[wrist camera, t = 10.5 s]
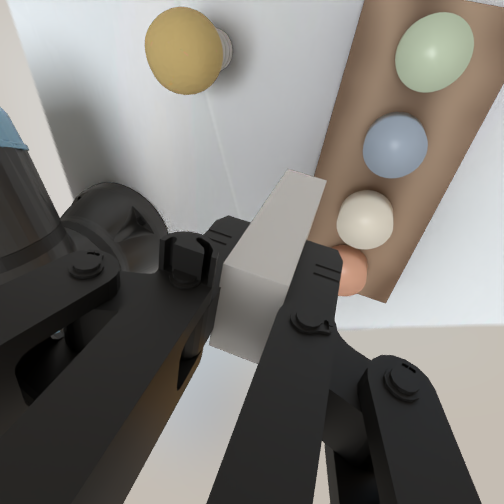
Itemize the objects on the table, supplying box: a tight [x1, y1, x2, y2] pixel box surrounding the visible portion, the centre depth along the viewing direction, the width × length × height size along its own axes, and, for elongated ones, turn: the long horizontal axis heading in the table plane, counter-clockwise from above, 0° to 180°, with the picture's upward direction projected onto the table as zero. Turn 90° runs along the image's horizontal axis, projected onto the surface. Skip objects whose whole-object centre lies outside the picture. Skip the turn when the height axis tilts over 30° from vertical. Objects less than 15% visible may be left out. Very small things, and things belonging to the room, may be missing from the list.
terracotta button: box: [332, 245, 368, 296], centre depth 38 cm, size 5×5×3 cm
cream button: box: [337, 190, 393, 249], centre depth 33 cm, size 5×5×3 cm
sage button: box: [395, 12, 474, 92], centre depth 26 cm, size 5×5×3 cm
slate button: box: [363, 112, 428, 178], centre depth 30 cm, size 5×5×3 cm
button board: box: [307, 0, 504, 303], centre depth 34 cm, size 12×28×3 cm, turn 170°
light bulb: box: [145, 7, 233, 95], centre depth 31 cm, size 6×6×10 cm
